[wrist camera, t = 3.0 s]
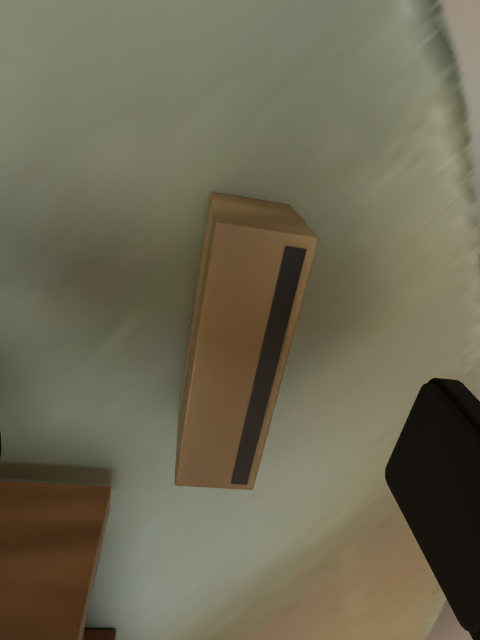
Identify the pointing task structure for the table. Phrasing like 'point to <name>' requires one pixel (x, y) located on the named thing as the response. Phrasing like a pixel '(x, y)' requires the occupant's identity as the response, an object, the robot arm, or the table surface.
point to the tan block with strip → (239, 337)
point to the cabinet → (99, 634)
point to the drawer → (49, 557)
